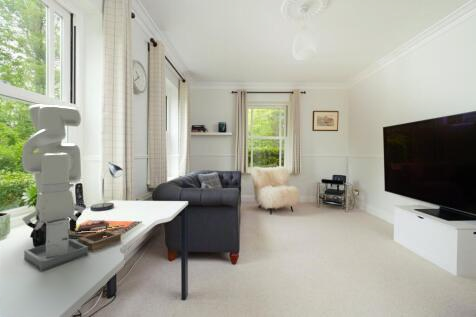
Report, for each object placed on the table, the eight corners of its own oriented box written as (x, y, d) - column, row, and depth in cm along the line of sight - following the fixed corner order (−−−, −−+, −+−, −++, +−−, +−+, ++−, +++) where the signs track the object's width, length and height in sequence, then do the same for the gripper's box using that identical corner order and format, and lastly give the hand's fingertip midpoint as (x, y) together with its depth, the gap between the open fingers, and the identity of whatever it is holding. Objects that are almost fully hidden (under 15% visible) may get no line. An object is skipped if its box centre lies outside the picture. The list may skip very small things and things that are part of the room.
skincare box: (45, 258, 73) (44, 223, 73) (47, 253, 77) (47, 220, 76) (68, 253, 76) (67, 220, 76) (69, 249, 80) (69, 217, 80)
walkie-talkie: (73, 236, 96) (124, 229, 105) (73, 227, 95) (124, 220, 105) (77, 230, 103) (123, 224, 113) (77, 221, 103) (123, 216, 113)
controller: (49, 240, 90) (49, 217, 90) (44, 251, 80) (44, 225, 80) (35, 243, 88) (35, 219, 88) (29, 254, 78) (28, 227, 78)
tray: (24, 258, 74) (24, 250, 74) (68, 245, 86) (68, 237, 86) (41, 271, 66) (41, 262, 66) (88, 254, 77) (88, 246, 77)
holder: (78, 245, 86) (78, 238, 86) (106, 236, 95) (106, 229, 95) (92, 251, 80) (91, 243, 80) (120, 241, 89) (120, 234, 89)
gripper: (78, 184, 85) (79, 226, 85) (18, 190, 70) (19, 241, 71) (88, 185, 81) (88, 229, 82) (26, 193, 66) (27, 246, 67)
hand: (56, 235), depth 76 cm, fingers open, 9 cm apart
